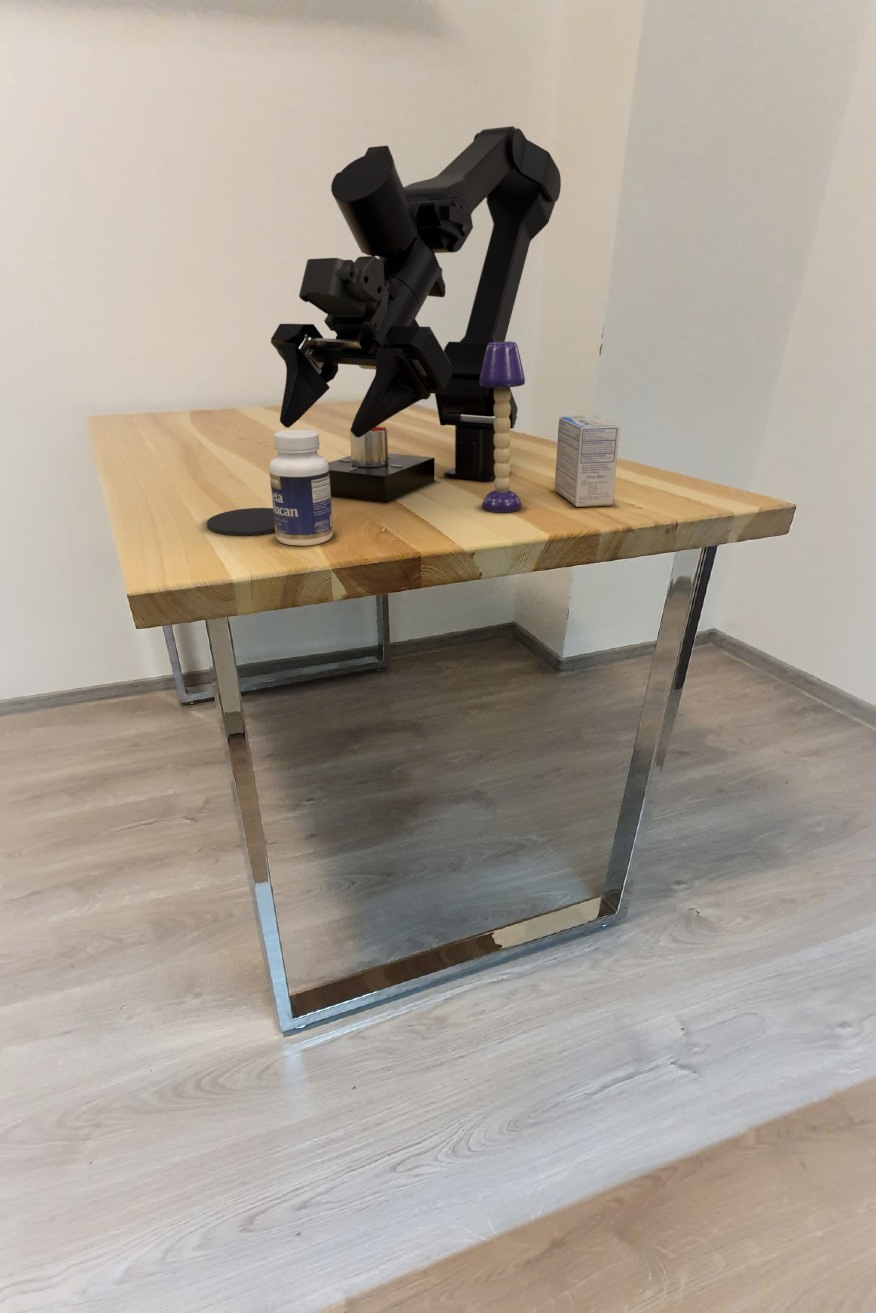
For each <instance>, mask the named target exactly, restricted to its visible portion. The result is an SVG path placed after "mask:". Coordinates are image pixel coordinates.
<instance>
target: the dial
mask: <svg viewBox="0 0 876 1313" xmlns="http://www.w3.org/2000/svg"><path fill="white" fill-rule="evenodd" d="M349 441H350V456H351V463H352V465H354V466H357V467H381V466H385V465H388V464H389V454H388V453H389V428H387V427H386V426H381V425H378V426H376V427H375V428H373V429H372V430H370V431H369V432H367V433H366V434H364V435H363V436H361V437H355V436H354V435H353V433H352V432H351V427H350V428H349Z"/></svg>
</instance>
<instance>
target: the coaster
mask: <svg viewBox="0 0 876 1313" xmlns="http://www.w3.org/2000/svg"><path fill="white" fill-rule="evenodd" d="M206 527H207V529H208V530H209V531H211V532H214V533H216V534H221V535H225V536H240V537H241V536H243V537H245V536H260V535H268V534H274V533H276V532H275V522H274V512H273V507H251V508H250V507H249V508H240V509H234V510H233V509H232V510H228V511H223V512H221V513H218V514H215V515H213V516H211V517H210V518H208V519H207V521H206Z"/></svg>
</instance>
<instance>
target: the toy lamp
mask: <svg viewBox="0 0 876 1313" xmlns="http://www.w3.org/2000/svg"><path fill="white" fill-rule="evenodd" d="M525 383H526V379H525V372H524V368H523V364H522V359H521V354H520V350H519V347H518V344H517V342H515V341H505V342H491V343H489V344H488V345H487V348H486V352H485V356H484V361H483V365H482V370H481V374H480V379H479V384H480V386H482V387H487V388H494V399H495V404H494V415H495V416H494V418H495V419H494V430H495V435H494V445H495V447H496V448H495V450H494V460H495V462H496V463H495V465H494V473H495V476H496V478H495V479H493V486H494V490H492V491H490V492H489V493H487V494H486V496H485V497H484V498H483V501H482V504H481V505H482V506H481V508H482V510H485V511H488V512H491V513H513V512H517V511H519V510H521V508H522V502H521V499H520V497H519V496H518V494H517V493H515V492H514V491H513V490H510V489H511V478H510V475H511V465H510V460H511V450H510V446H511V439H512V438H511V434H510V430H511V429H510V426H511V423H510V419H509V415H510V412H511V406H510V403H509V400H510V398H511V392H512V390H511V388H517V387H521V386H524V385H525Z"/></svg>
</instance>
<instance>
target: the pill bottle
mask: <svg viewBox="0 0 876 1313" xmlns="http://www.w3.org/2000/svg"><path fill="white" fill-rule="evenodd" d="M273 443H274V444H273V445H274V450H275V451H276V452H277V456H275V457H273V458H272V459H271V460H270V461H269V464H268V470H269V480H270V490H271V491H270V492H271V501H272V508H273V512H274V522H275V532H274V533H275V537H276V539H277V541H278V542H279V543H282V544H284V545H288V546H289V545H290V546H299V547H300V546H301V547H304V546H315V545H319V544H322V543H326V542H327V541H329V540H330V539H331V538H332V537H333V534H334V528H333V527H334V525H333V510H332V496H331V493H330V477H329V466H328V463H329V462H328V460H327V459H326V457H324V456H322V455H320V454H319V453H318V451H319V450H320V435H319V432H318V431H316V430H311V429H287V430H280V431H276V432H274V433H273Z"/></svg>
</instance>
